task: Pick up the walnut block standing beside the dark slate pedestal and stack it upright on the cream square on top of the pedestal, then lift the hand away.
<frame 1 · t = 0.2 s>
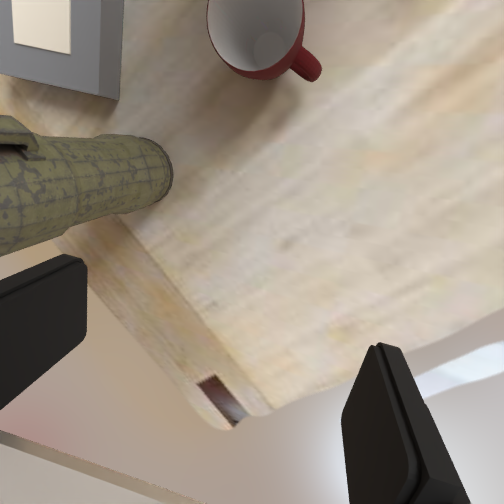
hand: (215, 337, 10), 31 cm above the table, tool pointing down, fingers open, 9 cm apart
mug: (279, 57, 34), on the table
slate pedestal: (69, 25, 37), on the table
thermos: (144, 171, 41), on the table
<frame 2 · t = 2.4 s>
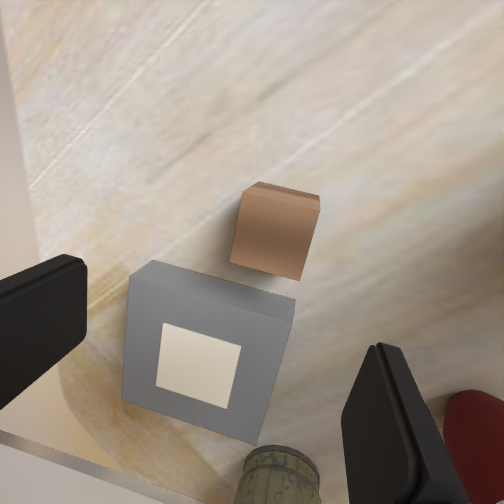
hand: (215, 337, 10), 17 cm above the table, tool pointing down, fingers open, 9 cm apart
mug: (482, 411, 28), on the table
slate pedestal: (210, 340, 31), on the table
walnut block: (281, 217, 26), on the table
thermos: (281, 471, 35), on the table
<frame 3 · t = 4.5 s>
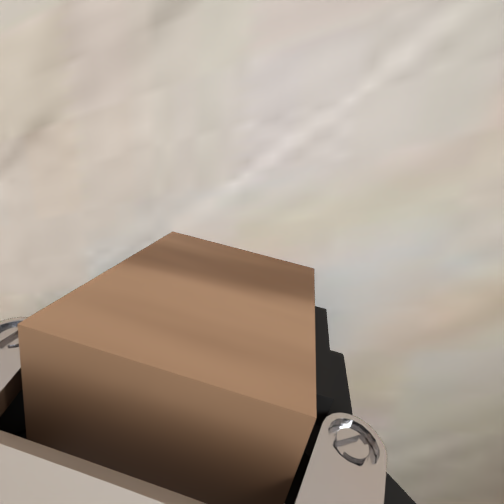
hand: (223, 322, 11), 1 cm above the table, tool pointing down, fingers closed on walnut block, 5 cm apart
walnut block: (228, 312, 11), on the table, touching gripper
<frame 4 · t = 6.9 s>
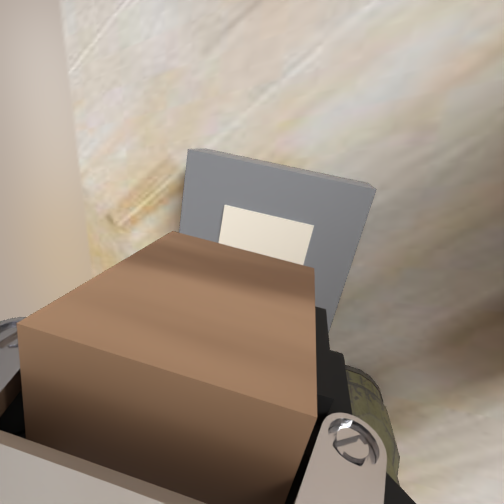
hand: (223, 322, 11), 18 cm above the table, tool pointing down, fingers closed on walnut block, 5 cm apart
slate pedestal: (267, 242, 28), on the table
walnut block: (228, 311, 11), point 17 cm above the table, touching gripper
thermos: (338, 396, 33), on the table
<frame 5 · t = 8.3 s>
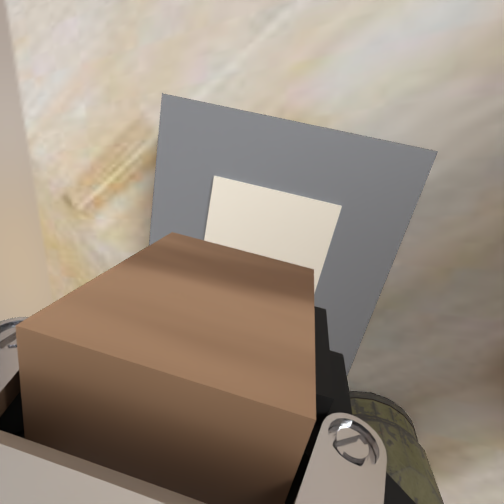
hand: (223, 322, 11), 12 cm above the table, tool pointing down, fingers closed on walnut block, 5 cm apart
slate pedestal: (272, 232, 21), on the table
walnut block: (228, 312, 11), point 11 cm above the table, touching gripper
thermos: (359, 430, 26), on the table
when the fingers open (7 cm above the table, at t = 9.5 s): walnut block drops 2 cm, resting on slate pedestal.
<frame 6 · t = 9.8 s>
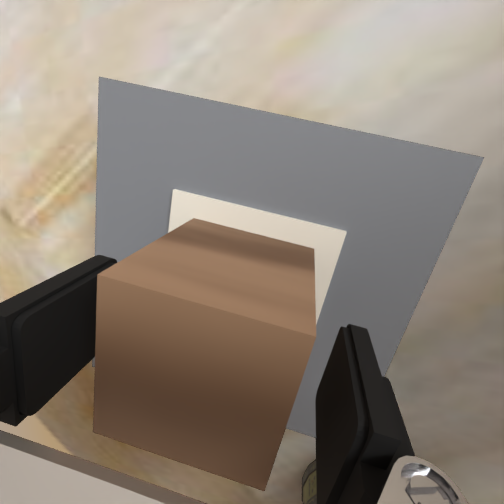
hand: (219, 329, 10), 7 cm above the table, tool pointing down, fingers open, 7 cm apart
slate pedestal: (256, 256, 17), on the table
walnut block: (240, 287, 13), point 4 cm above the table, touching slate pedestal
thermos: (365, 491, 21), on the table
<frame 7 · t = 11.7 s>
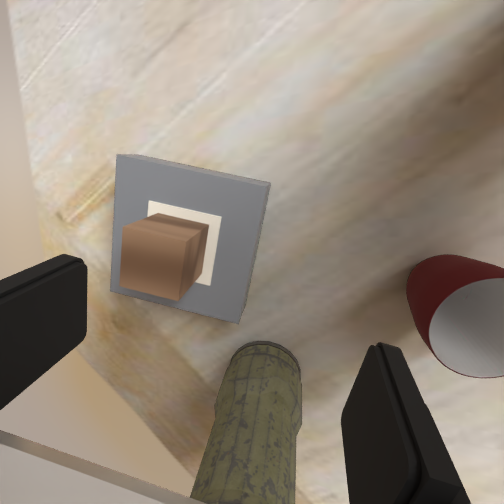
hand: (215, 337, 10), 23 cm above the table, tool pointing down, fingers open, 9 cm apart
mug: (442, 281, 31), on the table
slate pedestal: (194, 234, 33), on the table
walnut block: (180, 243, 29), point 4 cm above the table, touching slate pedestal
thermos: (265, 370, 37), on the table
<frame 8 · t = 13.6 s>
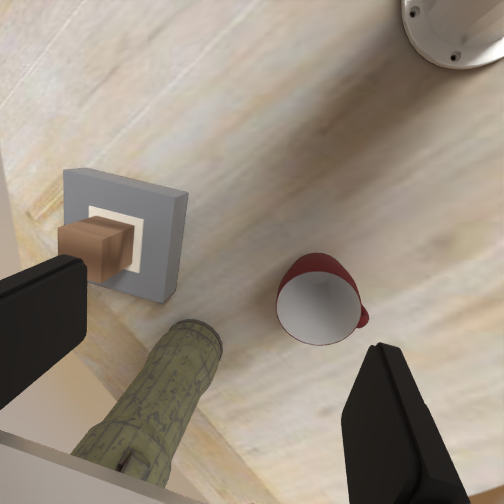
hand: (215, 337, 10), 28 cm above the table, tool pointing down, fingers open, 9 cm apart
mug: (325, 274, 38), on the table
slate pedestal: (133, 231, 41), on the table
walnut block: (114, 239, 37), point 4 cm above the table, touching slate pedestal
thermos: (195, 343, 45), on the table
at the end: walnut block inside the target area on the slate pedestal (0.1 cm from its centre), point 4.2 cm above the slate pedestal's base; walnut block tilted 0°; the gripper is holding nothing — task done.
